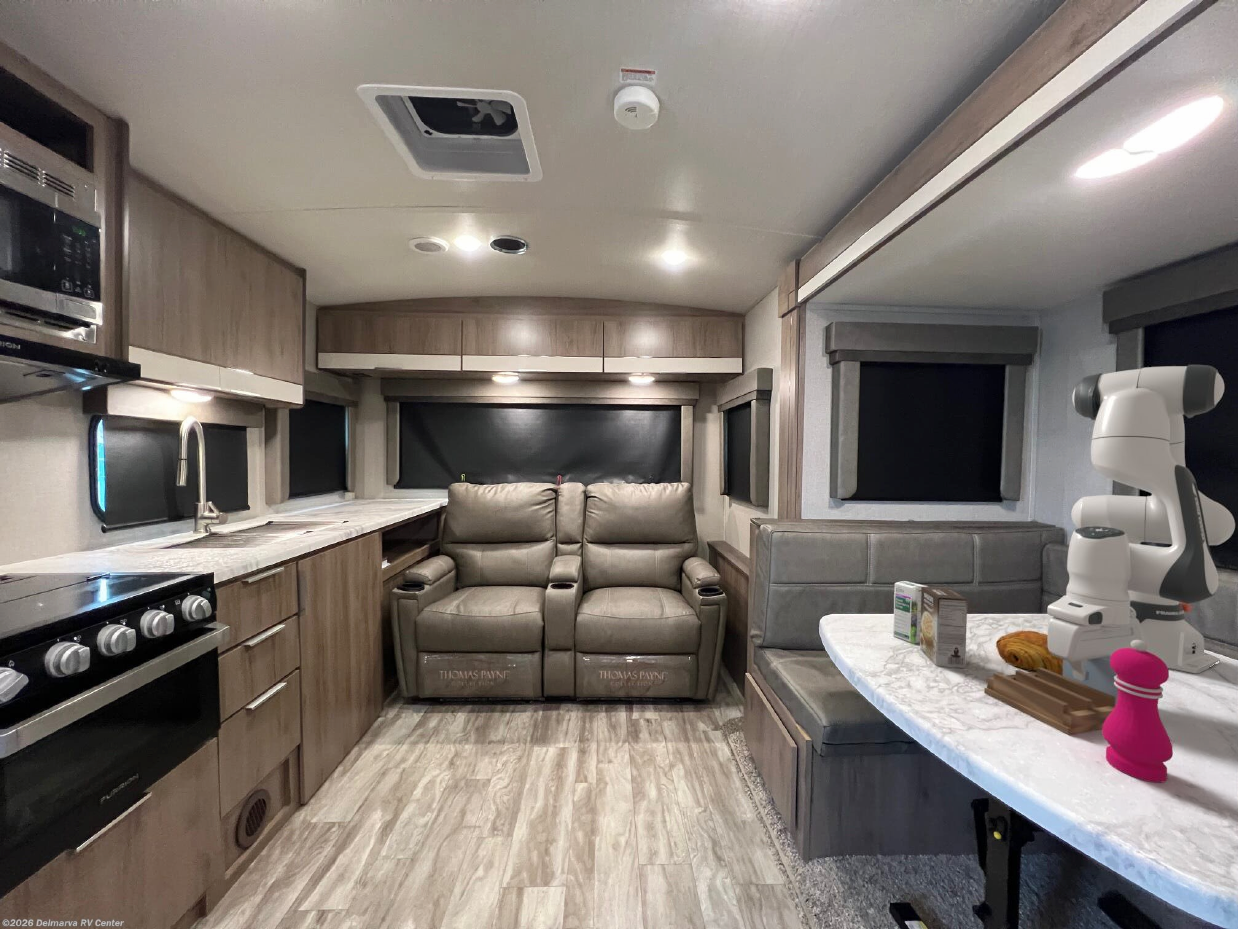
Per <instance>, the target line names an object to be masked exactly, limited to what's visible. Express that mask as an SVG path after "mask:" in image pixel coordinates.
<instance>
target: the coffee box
mask: <svg viewBox="0 0 1238 929" xmlns="http://www.w3.org/2000/svg"><path fill="white" fill-rule="evenodd" d="M967 618H968V598H966V597H964V596H963V595H962V594H959V593H958V592H956V591H955V590H953V589H951V588H950V587H935V586H927V587H921V625H920V642H919V651H921V653H923V654H924V655H925V656H926V657H927V659H929V660H930V661H931V662H932V663H933V664H934V665H936V666H937V667H946V668H947V667H950V668H959V669H960V668H961V669H966V658H967V656H966V654H967V653H966V651H967V623H968V622H967V620H968V619H967Z"/></svg>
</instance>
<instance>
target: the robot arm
mask: <svg viewBox="0 0 1238 929" xmlns="http://www.w3.org/2000/svg"><path fill="white" fill-rule="evenodd" d="M1224 393H1225V383H1224V379H1223V378H1222V375H1221V374H1219V371H1218V369H1216V368H1215V367H1214V366H1211V365H1207V364H1205V365H1203V364H1188V365H1187V366H1186V365H1185V366H1184V365H1183V366H1181V365H1180V366H1179V365H1178V366H1176V365H1172V366H1170V365H1169V366H1168V365H1167V366H1151V367H1149V366H1147V367H1142V368H1136V369H1127V370H1122V371H1121V370H1120V371H1114V372H1109V373H1102V372H1100V373H1095V374H1091V375H1087V376H1084V377H1082V378H1081V379H1080V380H1079V381H1078V382H1077V383H1076V385H1075V387H1074V389H1073V393H1072V395H1071V396H1072V399H1071V400H1072V404H1073V407H1074V409H1075V411H1076V413H1077V414H1079V415H1080V416H1082V417H1084V418H1087V419H1090V420H1091V421H1094V425H1093V429H1092V436H1091V445H1090V461H1091V464H1092V466H1093V467H1094V468H1095V470H1096V471H1097V472H1098V473H1099V474H1101V475H1102V476H1104V477H1105V478H1107V479H1110V480H1112V481H1115V482H1117V483H1119V484H1122V485H1126V486H1130V487H1132V488H1135V489H1138V490H1141V491H1145V492H1148V493H1150V494H1151V495H1147V496H1140V495H1139V496H1138V495H1124V494H1123V495H1117V494H1101V495H1099V494H1098V495H1091V496H1082V497H1081V498H1080V499H1078V500H1077V501H1076V502H1075V503H1074V504H1073V505H1072V506H1073V507H1072V509H1071V512H1070V513H1071V521H1072V523H1073V525H1074V526H1075V527H1076V529H1074V530H1073V532H1072V534H1071V538H1070V541H1069V545H1068V552H1067V560H1066V561H1067V562H1066V563H1067V564H1066V569H1067V573H1068V575H1069V580H1068V584H1067V586H1066V589H1065V590H1066V592H1065V594H1066V595H1063V596H1061V597H1060V599H1057V600H1056V601H1053V602H1052V603H1050V604H1049V605H1048V606H1047V610H1046V611H1047V612H1046V613H1047V615H1049V616H1051V618H1050V619H1049V621H1048V625H1047V635H1048V649H1049V651H1050V653H1051V654H1052V655H1053V656H1055V657H1058V658H1060V659H1063V660H1066V661H1069V663H1070V665H1071V667H1072V669H1073V677H1074V678H1075V679H1078V680H1080V681H1085V680H1088V679H1089V677H1088V676H1089V672H1087V671H1086V670H1085V667H1084V665H1085V664H1086V660H1088V659H1096V658H1103V657H1111V655H1112V654H1113V652H1115V651H1116V650H1118V649H1122V648H1132V647H1131V642H1132V641H1133V640H1141V641H1143V642H1145V643H1146V644H1147V646H1148V649H1147V652H1150V653H1152V654H1154V655H1156V656H1157V657H1159V658H1160V659H1161V660H1162V661H1163V662H1164V663H1165V664H1166V665H1167V668H1168V669H1170V670H1171V669H1172V670H1178V671H1182V672H1187V673H1192V674H1200V673H1202V672H1205V671H1206V670H1209V669H1210V668H1209V667H1210V666H1212V665H1213V664H1215V663H1216V662H1218V661H1220V662H1221V659H1220V658H1219V657H1217V656H1214V655H1212V654H1209V653H1207V652H1205V638H1204V635H1202V634H1201V632H1199V631H1198V630H1197V629H1196V628H1194V626H1192V625H1190V624H1189V623H1188V622H1187V621H1186V620H1185V619H1186V616H1185V613H1190V612H1191V611H1192V606H1191V604H1194V603H1198V602H1202V601H1205V600H1207V599H1209V598H1212V597H1213V596H1215V595H1216V593H1217V589H1218V587H1219V583H1220V582H1219V575H1218V574H1219V573H1218V571H1217V567H1216V566H1215V562H1214V560H1213V556H1212V552H1211V548H1210V546H1219V545H1221V544H1223V543H1225V542H1226V541H1227V540H1229V539H1230V538H1231V537H1232V535H1233V534H1234V531H1235V528H1236V522H1235V519H1234V516H1233V514H1232V513H1231V511H1230V510H1228V509H1227V508H1226V507H1225V506H1224V505H1223V504H1220V503H1219V502H1217V501H1214V500H1213V499H1211V498H1209V497H1207V496H1206V495H1205V494H1203V493H1202V492H1201V491H1200V490H1199V489H1198V486H1197V482H1196V478H1195V477H1194V475H1193V474H1192V472H1191V471H1190V469H1189V468H1188V467H1186V458H1185V455H1186V454H1185V449H1186V448H1185V444H1186V442H1185V440H1186V437H1185V436H1186V434H1185V433H1186V431H1185V423H1184V422H1185V420H1184V416H1186V417H1187V418H1188V419H1191V418H1193V417H1194V416H1196V415H1197V416H1198V415H1201V414H1205V413H1208V412H1209V411H1211V410H1213V409H1214V408H1216V407H1217V404H1218V402H1220V400H1221V399H1222V397H1223V394H1224ZM1141 543H1156V544H1166V545H1171V546H1169V547H1168V546H1166V547H1164V546H1157V545H1147V544H1141ZM1208 668H1209V669H1208Z"/></svg>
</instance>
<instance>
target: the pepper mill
mask: <svg viewBox="0 0 1238 929" xmlns="http://www.w3.org/2000/svg"><path fill="white" fill-rule="evenodd" d="M1131 647H1132V648H1122V649H1118V650H1116V651H1115V652H1113V654H1112V655H1111V657H1110V665H1111V668H1112V669H1113V670H1114V671H1115V673H1116V674H1117V675H1116V676H1114V679H1115V682H1114V685H1115V686H1116V687H1117V688H1118V698H1117V703H1116V705H1115V708H1114V709H1113V711H1112V712H1111V713H1110V714H1109V716H1108V717H1107V718H1106V720H1105V722H1104V724H1103V729H1101V730H1102V731H1101V734H1102V736H1103V738H1104V740H1105V741H1106V742H1107V743H1108V744H1109V745H1108V746H1106V747H1105V760H1106V761H1107V763H1108V764H1110V765H1111V766H1112V767H1113V768H1114V769H1116V770H1118V771H1119V772H1121V773H1123V774H1126V775H1128V776H1130V777H1134V778H1136V779H1139V780H1142V781H1146V782H1149V783H1150V782H1151V783H1152V782H1153V783H1164V782H1165V781H1167V779H1168V767H1167V765H1166V764H1165V762H1168V761H1170V760H1171V759H1172V757H1173V754H1174V752H1173V751H1174V750H1173V745H1172V742H1171V741H1172V740H1171V738H1170V736H1169V734H1168V733H1167V730H1166V728H1165V727H1164V724H1163V722H1162V719H1161V718H1160V714H1159V706H1158V704H1159V699H1160V700H1161V699H1162V698H1163V697H1164V695H1163V692H1164V688H1163V687H1162V686H1161V685H1162V684H1164V683H1166V682H1168V680H1169V677H1170V675H1169V672H1170V671H1169V668H1167V665H1166V664H1165V663H1164V662H1163V661H1162V660H1161V659H1160V658H1159V657H1157V656H1156V655H1154V654H1152V653H1150V652H1147V649H1148V646H1147V644H1146V643H1145V642H1143V641H1141V640H1133V641H1132V642H1131Z"/></svg>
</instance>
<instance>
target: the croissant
mask: <svg viewBox="0 0 1238 929" xmlns="http://www.w3.org/2000/svg"><path fill="white" fill-rule="evenodd" d="M995 642H996V644H995V645H996V646H995V647H996V649H997V652H998V656H1000V658H1001V659H1002V660H1004V661H1005V662H1006V663H1007V664H1009V665H1012V666H1013V667H1017V668H1021V669H1024V670H1028V671H1032V672H1036V673H1037V668H1040V667H1041V668H1044V669H1046V670H1049V671H1051V672H1054V673H1056V674H1059V675H1061V676H1063V659H1060V658H1058V657H1055V656H1053V655H1052V654H1051V653H1050V651H1049V649H1048V634H1046V633H1041V632H1039V631H1034V630H1018V631H1014V632H1011V633H1007V634H1005V635H1002V636H1000V637H999V638H998V639H997V641H995Z"/></svg>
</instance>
